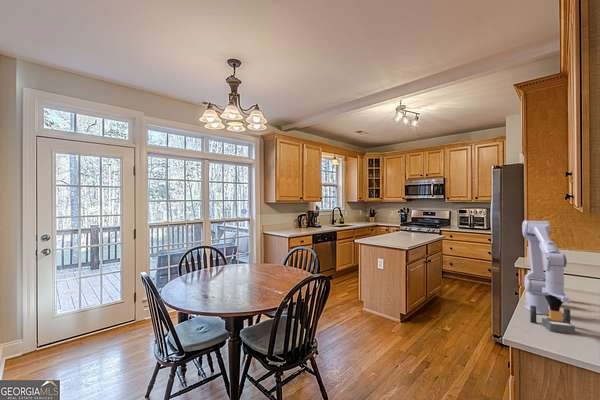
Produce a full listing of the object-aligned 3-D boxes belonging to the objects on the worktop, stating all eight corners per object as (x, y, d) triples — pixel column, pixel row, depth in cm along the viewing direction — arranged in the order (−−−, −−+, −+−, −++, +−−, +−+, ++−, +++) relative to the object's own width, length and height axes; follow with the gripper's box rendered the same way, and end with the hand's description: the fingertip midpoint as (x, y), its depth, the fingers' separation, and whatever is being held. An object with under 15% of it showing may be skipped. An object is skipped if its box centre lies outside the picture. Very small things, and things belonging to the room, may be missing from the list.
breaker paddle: (549, 319, 116) (548, 310, 116) (561, 320, 115) (560, 311, 115) (551, 319, 115) (550, 310, 115) (563, 320, 113) (562, 311, 114)
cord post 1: (529, 321, 122) (529, 305, 122) (534, 321, 121) (534, 305, 121) (531, 322, 120) (531, 306, 120) (537, 323, 119) (537, 307, 119)
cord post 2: (562, 324, 118) (562, 308, 118) (568, 325, 118) (568, 308, 118) (565, 326, 116) (565, 309, 117) (571, 327, 116) (571, 310, 116)
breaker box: (542, 325, 118) (542, 315, 118) (565, 327, 115) (565, 318, 115) (550, 331, 112) (550, 321, 112) (574, 334, 110) (574, 324, 110)
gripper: (533, 276, 124) (534, 306, 124) (553, 285, 110) (553, 319, 110) (552, 277, 122) (553, 308, 122) (575, 287, 108) (575, 321, 108)
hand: (554, 314), depth 115 cm, fingers closed, pressing on breaker paddle
